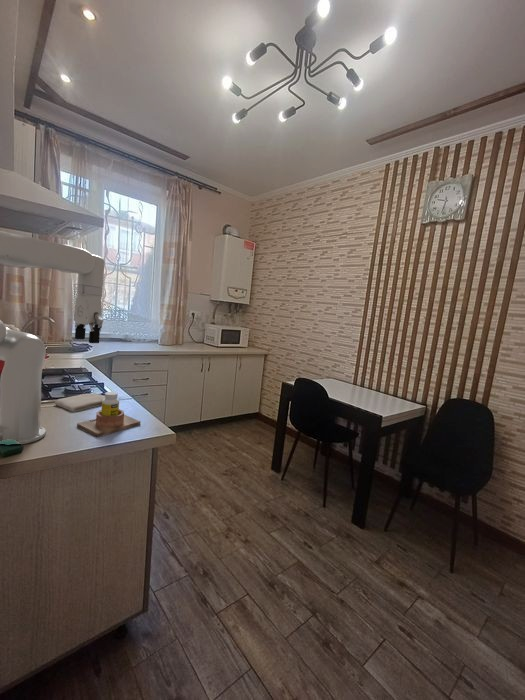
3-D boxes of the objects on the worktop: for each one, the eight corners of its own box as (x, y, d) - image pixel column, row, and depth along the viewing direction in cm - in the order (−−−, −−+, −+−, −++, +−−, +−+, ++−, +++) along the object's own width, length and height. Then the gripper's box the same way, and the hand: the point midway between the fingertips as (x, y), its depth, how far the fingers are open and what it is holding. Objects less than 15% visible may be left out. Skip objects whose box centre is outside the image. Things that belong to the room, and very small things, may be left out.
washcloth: (114, 403, 131) (114, 396, 131) (72, 414, 115) (73, 406, 114) (96, 397, 136) (96, 390, 136) (53, 406, 120) (54, 399, 119)
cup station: (97, 437, 97) (98, 423, 97) (76, 426, 103) (77, 413, 103) (140, 424, 111) (141, 412, 111) (119, 415, 117) (120, 403, 117)
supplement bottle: (110, 424, 104) (112, 396, 103) (97, 421, 105) (98, 393, 104) (121, 419, 109) (123, 392, 108) (108, 416, 110) (109, 390, 109)
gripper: (66, 288, 106) (63, 337, 108) (91, 291, 97) (88, 344, 99) (88, 292, 113) (85, 337, 114) (114, 294, 103) (110, 344, 105)
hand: (86, 341), depth 106 cm, fingers open, 9 cm apart
